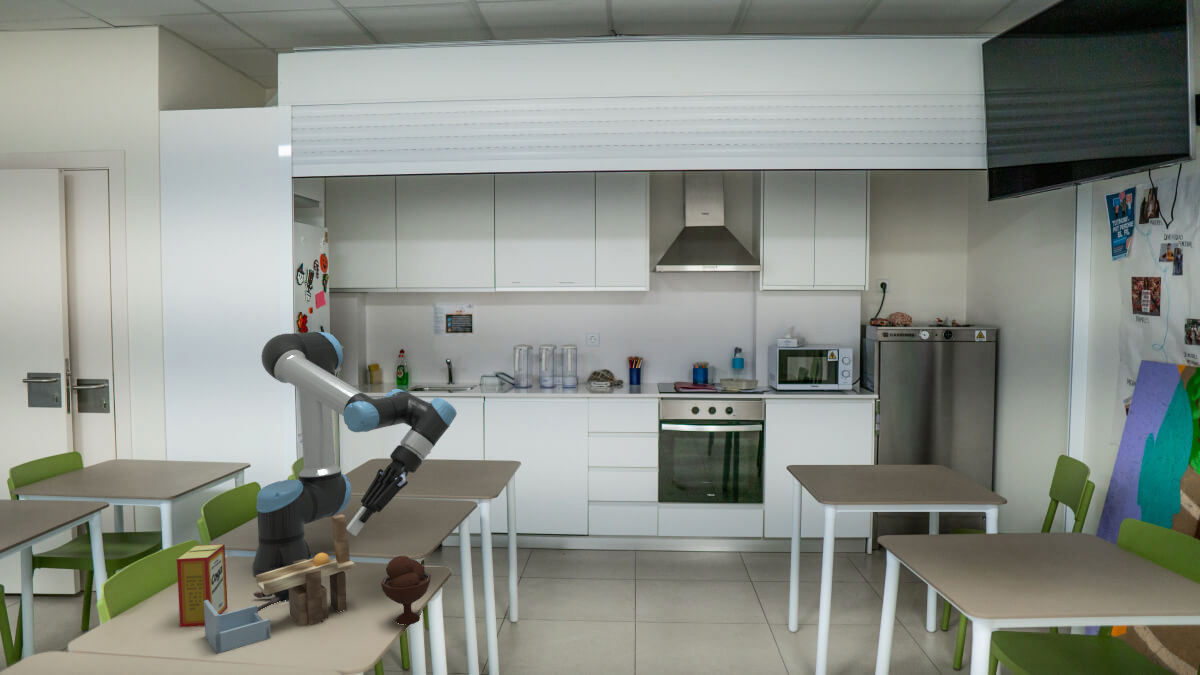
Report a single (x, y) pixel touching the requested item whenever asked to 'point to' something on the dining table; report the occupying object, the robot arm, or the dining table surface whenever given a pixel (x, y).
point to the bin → (234, 627)
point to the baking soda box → (201, 583)
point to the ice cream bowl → (405, 585)
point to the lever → (309, 564)
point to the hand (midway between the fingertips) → (350, 532)
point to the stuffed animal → (279, 597)
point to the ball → (321, 559)
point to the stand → (316, 597)
